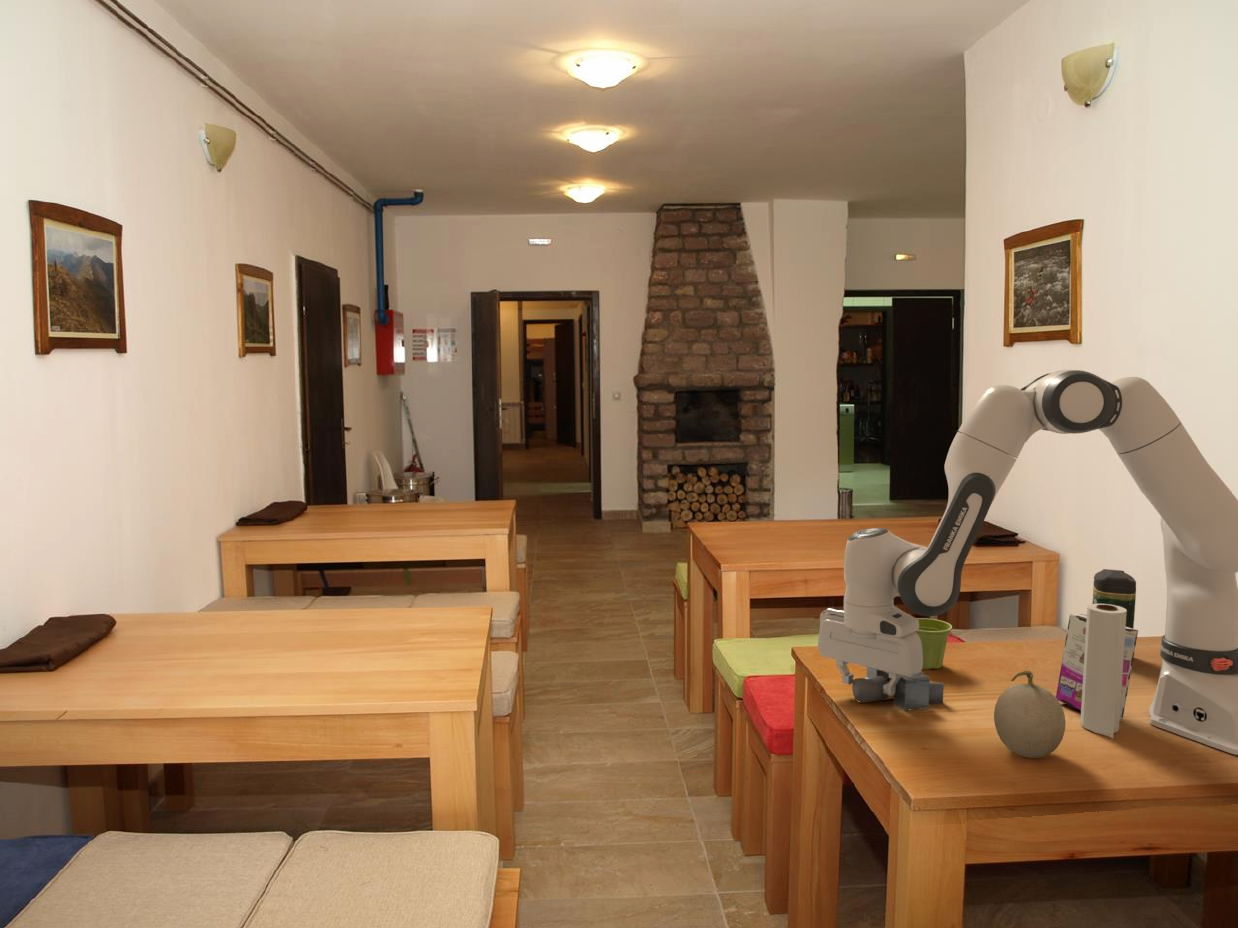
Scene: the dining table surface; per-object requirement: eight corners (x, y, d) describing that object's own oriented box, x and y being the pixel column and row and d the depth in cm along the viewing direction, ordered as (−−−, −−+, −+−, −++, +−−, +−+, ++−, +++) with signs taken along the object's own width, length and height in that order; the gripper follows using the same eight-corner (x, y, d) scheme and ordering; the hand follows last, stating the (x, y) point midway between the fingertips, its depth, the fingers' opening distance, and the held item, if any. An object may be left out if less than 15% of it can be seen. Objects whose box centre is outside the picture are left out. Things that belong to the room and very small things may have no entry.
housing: (948, 705, 176) (949, 674, 175) (904, 710, 173) (905, 679, 172) (907, 681, 188) (908, 653, 187) (866, 686, 185) (867, 657, 185)
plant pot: (941, 676, 191) (943, 633, 190) (895, 666, 197) (897, 625, 196) (956, 663, 199) (958, 623, 198) (912, 655, 204) (913, 615, 203)
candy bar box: (1124, 721, 168) (1140, 629, 167) (1103, 720, 166) (1119, 628, 165) (1074, 699, 179) (1089, 613, 177) (1053, 699, 177) (1068, 612, 176)
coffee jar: (1134, 666, 197) (1140, 578, 194) (1091, 662, 199) (1096, 575, 197) (1127, 652, 206) (1133, 568, 203) (1087, 648, 208) (1092, 565, 206)
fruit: (1040, 738, 161) (1045, 651, 159) (1075, 767, 150) (1081, 675, 148) (979, 738, 161) (983, 652, 159) (1009, 768, 149) (1014, 676, 147)
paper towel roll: (1085, 717, 170) (1092, 600, 167) (1122, 726, 166) (1130, 606, 163) (1074, 730, 164) (1081, 608, 161) (1112, 739, 160) (1120, 615, 158)
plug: (908, 689, 183) (911, 668, 182) (921, 699, 179) (924, 678, 178) (851, 695, 180) (853, 674, 179) (863, 706, 176) (865, 684, 175)
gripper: (810, 609, 181) (811, 680, 183) (909, 630, 167) (909, 706, 168) (829, 603, 186) (829, 672, 187) (927, 622, 171) (926, 696, 173)
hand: (868, 688), depth 178 cm, fingers open, 7 cm apart
